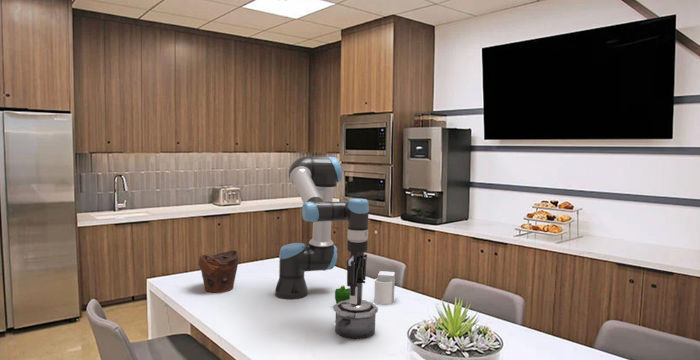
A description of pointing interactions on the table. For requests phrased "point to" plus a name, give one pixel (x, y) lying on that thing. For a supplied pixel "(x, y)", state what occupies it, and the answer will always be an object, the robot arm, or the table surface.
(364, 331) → the pot
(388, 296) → the cup
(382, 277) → the supplement box
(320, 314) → the table surface
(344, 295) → the bell pepper
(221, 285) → the chocolate muffin
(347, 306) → the lid
